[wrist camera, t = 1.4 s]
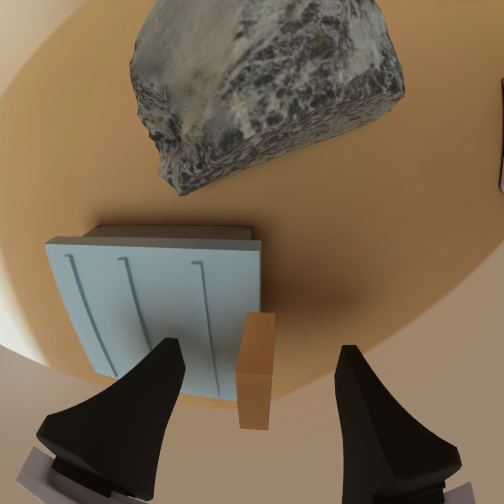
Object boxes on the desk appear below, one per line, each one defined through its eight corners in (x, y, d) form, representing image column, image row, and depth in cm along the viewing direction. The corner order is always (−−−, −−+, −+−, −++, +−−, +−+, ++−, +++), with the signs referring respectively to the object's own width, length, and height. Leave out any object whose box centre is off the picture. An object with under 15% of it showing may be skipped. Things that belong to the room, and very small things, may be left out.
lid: (278, 241, 11) (276, 307, 7) (271, 390, 15) (265, 453, 11) (55, 236, 12) (1, 275, 8) (102, 363, 16) (74, 408, 12)
